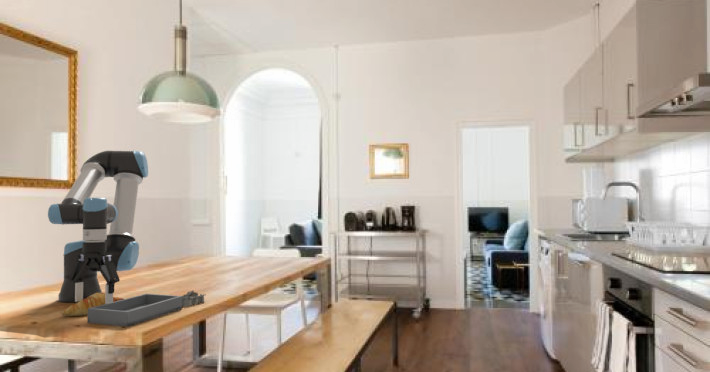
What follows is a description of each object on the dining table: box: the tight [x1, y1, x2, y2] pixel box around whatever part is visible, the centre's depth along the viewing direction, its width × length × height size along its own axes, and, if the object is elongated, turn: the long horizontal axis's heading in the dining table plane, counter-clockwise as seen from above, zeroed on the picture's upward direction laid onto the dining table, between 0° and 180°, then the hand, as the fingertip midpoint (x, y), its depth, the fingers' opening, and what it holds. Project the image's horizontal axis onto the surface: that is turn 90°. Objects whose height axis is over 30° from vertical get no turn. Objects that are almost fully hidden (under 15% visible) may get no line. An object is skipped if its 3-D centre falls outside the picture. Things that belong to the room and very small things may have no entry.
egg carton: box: [181, 290, 207, 307], centre depth 186 cm, size 11×8×4 cm
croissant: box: [61, 292, 124, 317], centre depth 173 cm, size 21×10×8 cm, turn 146°
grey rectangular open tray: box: [87, 293, 183, 327], centre depth 167 cm, size 16×26×4 cm, turn 161°
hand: (93, 302), depth 173 cm, fingers open, 13 cm apart
